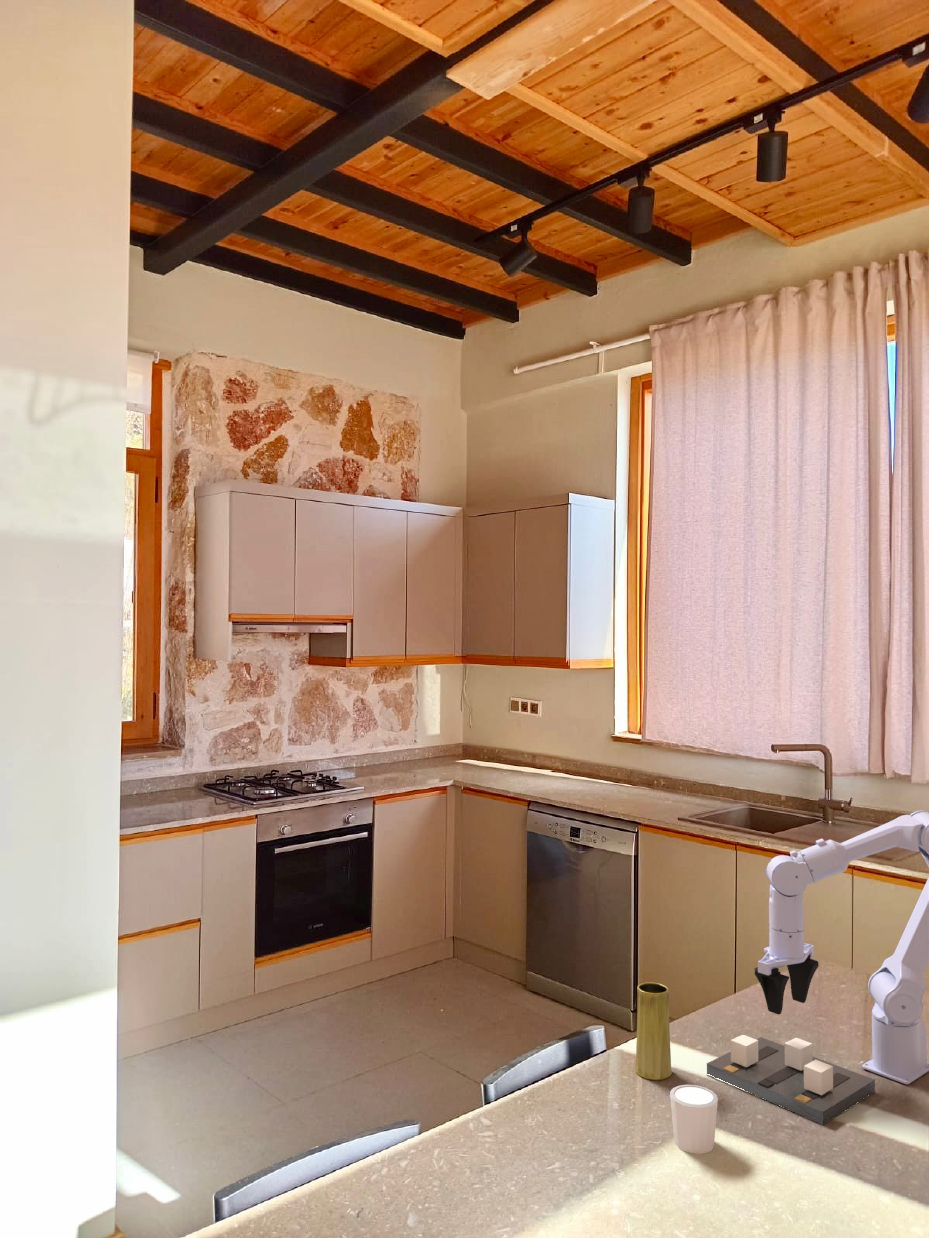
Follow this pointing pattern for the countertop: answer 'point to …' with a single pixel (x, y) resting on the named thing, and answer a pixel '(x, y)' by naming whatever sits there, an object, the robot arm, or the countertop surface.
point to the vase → (653, 1032)
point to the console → (792, 1083)
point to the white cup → (694, 1118)
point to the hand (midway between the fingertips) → (787, 1006)
